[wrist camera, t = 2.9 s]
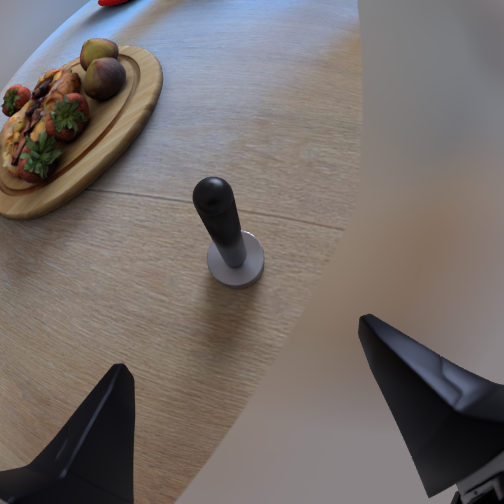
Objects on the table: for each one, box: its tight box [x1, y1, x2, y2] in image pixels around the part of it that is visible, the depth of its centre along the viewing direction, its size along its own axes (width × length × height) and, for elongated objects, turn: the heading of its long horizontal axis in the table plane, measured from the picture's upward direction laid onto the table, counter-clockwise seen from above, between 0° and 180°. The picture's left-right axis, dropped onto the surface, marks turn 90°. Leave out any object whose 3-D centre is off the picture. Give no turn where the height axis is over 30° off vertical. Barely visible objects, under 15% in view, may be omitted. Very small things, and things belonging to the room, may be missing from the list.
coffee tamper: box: [193, 177, 264, 290], centre depth 18 cm, size 4×4×13 cm
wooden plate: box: [0, 38, 163, 221], centre depth 27 cm, size 32×32×8 cm
